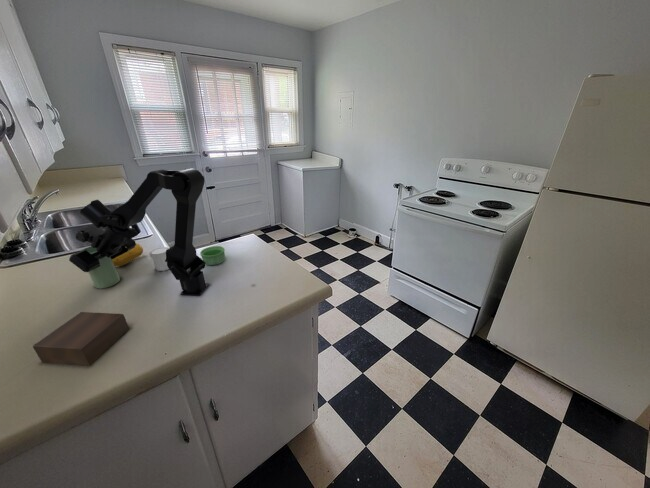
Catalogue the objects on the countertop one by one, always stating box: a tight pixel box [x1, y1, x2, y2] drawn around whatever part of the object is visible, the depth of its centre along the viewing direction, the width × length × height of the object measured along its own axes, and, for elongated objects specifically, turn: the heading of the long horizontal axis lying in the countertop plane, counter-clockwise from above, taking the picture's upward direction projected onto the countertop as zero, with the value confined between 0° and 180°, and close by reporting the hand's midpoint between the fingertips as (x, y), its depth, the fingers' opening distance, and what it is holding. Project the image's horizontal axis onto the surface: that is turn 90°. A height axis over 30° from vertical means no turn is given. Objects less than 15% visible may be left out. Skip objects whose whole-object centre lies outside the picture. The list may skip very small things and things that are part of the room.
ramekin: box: [199, 245, 226, 266], centre depth 106 cm, size 9×9×4 cm
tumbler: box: [81, 245, 121, 289], centre depth 90 cm, size 7×7×13 cm
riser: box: [32, 311, 130, 366], centre depth 66 cm, size 12×12×5 cm
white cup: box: [149, 246, 170, 272], centre depth 101 cm, size 7×7×7 cm
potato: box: [112, 243, 144, 267], centre depth 105 cm, size 8×14×7 cm, turn 158°
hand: (96, 265), depth 91 cm, fingers closed on tumbler, 7 cm apart
